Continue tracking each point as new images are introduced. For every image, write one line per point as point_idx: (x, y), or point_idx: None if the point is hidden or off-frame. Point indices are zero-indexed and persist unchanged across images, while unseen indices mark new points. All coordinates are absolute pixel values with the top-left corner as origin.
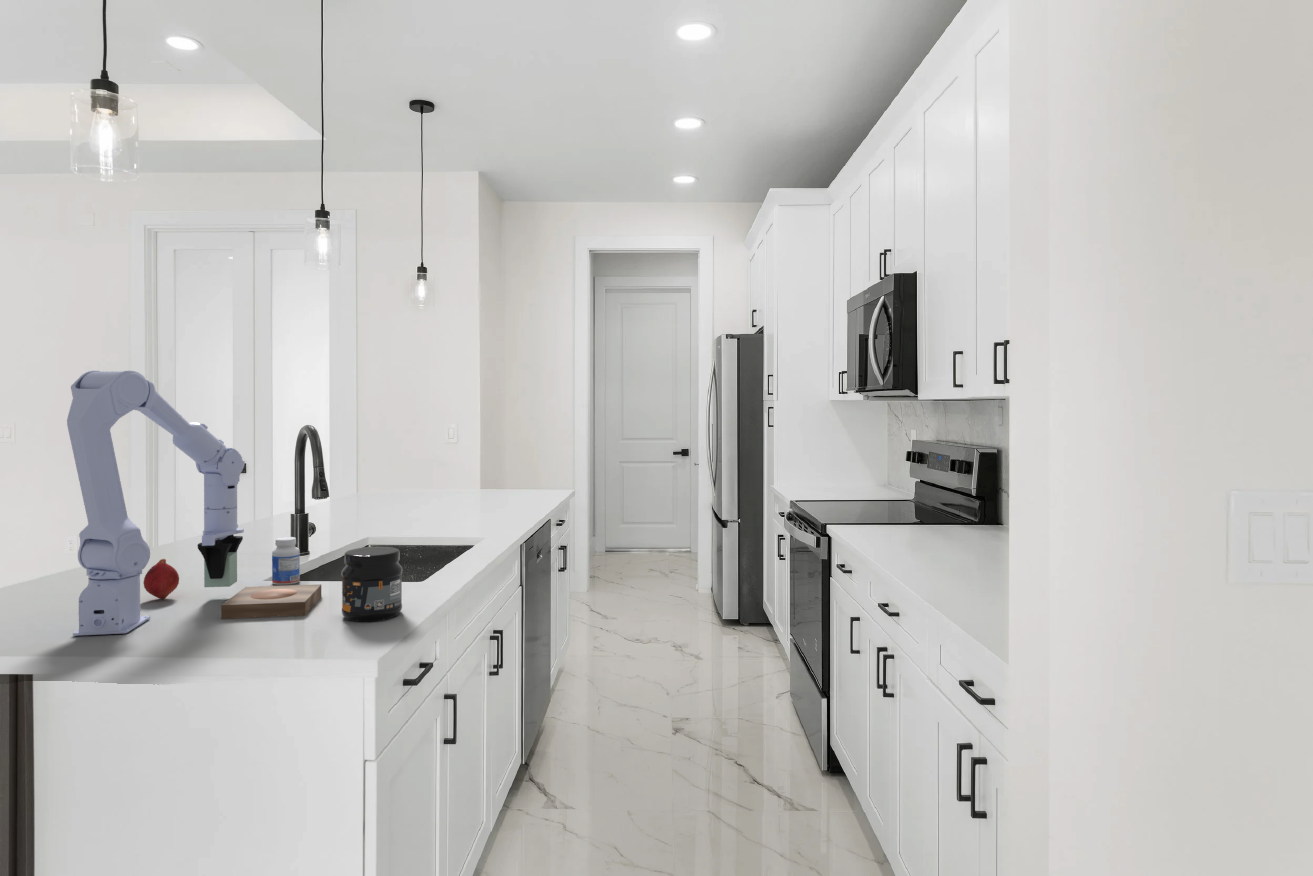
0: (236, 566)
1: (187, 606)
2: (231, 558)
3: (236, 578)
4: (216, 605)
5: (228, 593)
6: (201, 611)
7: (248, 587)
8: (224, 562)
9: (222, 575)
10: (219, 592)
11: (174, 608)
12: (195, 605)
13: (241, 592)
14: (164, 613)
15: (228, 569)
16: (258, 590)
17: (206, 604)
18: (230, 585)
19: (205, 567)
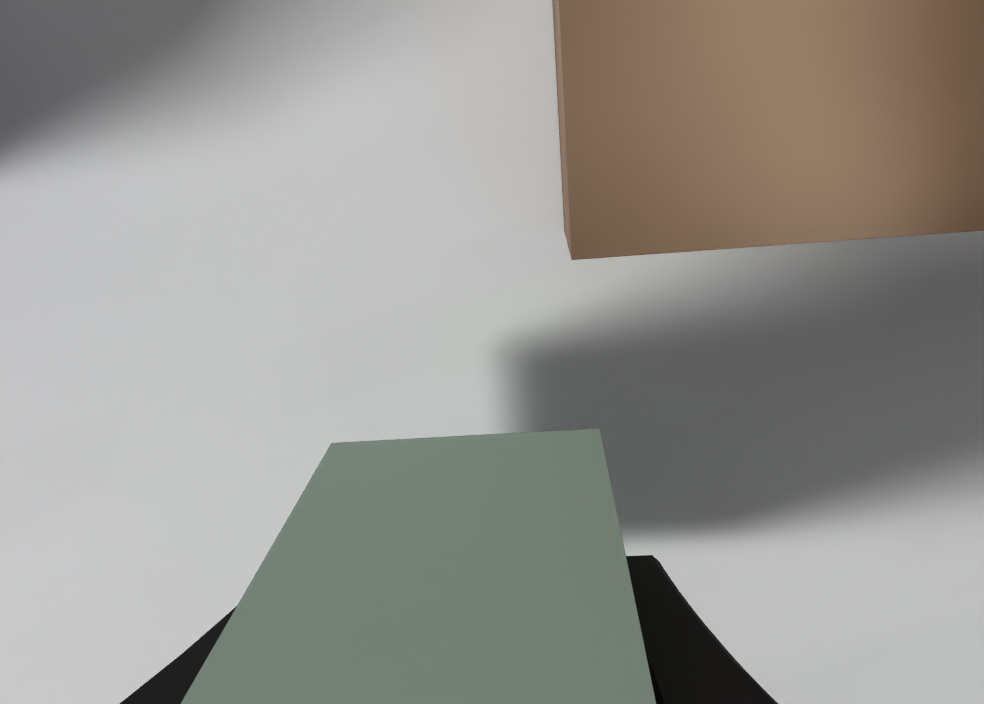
0: (295, 548)
1: (748, 624)
2: (527, 665)
3: (340, 461)
4: (761, 417)
5: (299, 480)
6: (967, 460)
7: (605, 214)
8: (728, 683)
9: (656, 570)
10: None
11: (797, 686)
12: (725, 580)
13: (881, 197)
14: (952, 695)
15: (624, 560)
16: (813, 7)
17: (704, 511)
18: (572, 432)
19: None
